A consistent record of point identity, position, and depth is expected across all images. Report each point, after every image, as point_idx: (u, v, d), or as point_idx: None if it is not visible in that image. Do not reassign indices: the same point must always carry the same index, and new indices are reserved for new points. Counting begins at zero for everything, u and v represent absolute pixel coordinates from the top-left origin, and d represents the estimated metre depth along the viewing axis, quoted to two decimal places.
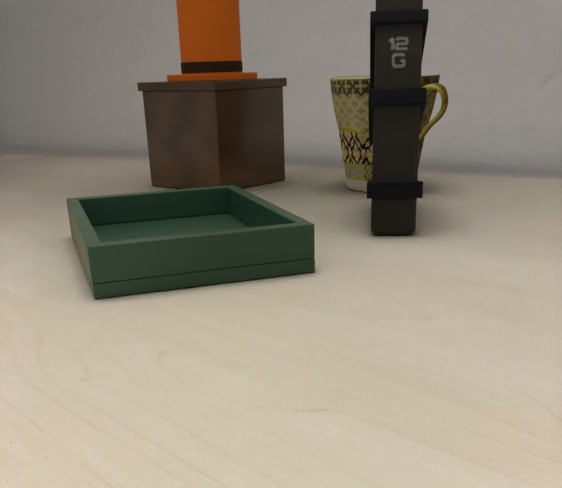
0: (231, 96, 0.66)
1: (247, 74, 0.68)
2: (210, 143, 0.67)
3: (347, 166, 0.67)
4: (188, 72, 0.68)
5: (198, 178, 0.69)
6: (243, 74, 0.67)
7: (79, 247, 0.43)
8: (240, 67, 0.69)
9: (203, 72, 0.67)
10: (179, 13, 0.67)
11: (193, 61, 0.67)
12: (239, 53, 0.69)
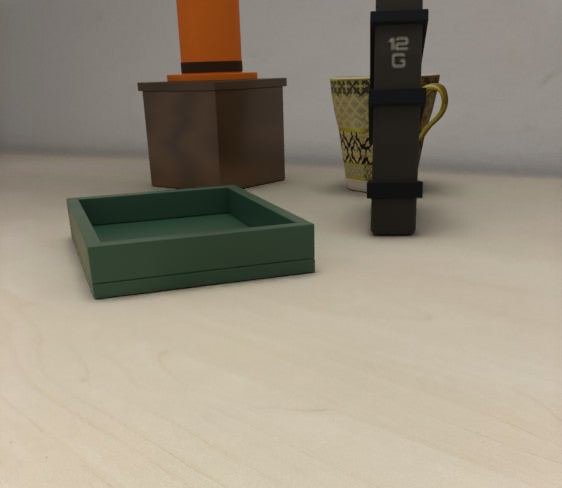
0: (231, 96, 0.66)
1: (247, 74, 0.68)
2: (210, 143, 0.67)
3: (347, 166, 0.67)
4: (188, 72, 0.68)
5: (198, 178, 0.69)
6: (243, 74, 0.67)
7: (79, 247, 0.43)
8: (240, 67, 0.69)
9: (203, 72, 0.67)
10: (179, 13, 0.67)
11: (193, 61, 0.67)
12: (239, 53, 0.69)
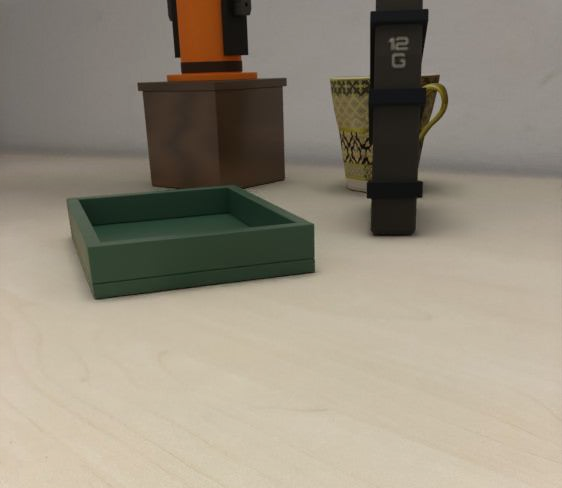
0: (231, 96, 0.66)
1: (247, 74, 0.68)
2: (210, 143, 0.67)
3: (347, 166, 0.67)
4: (188, 72, 0.68)
5: (198, 178, 0.69)
6: (243, 74, 0.67)
7: (79, 247, 0.43)
8: (240, 67, 0.69)
9: (203, 72, 0.67)
10: (179, 13, 0.67)
11: (193, 61, 0.67)
12: None
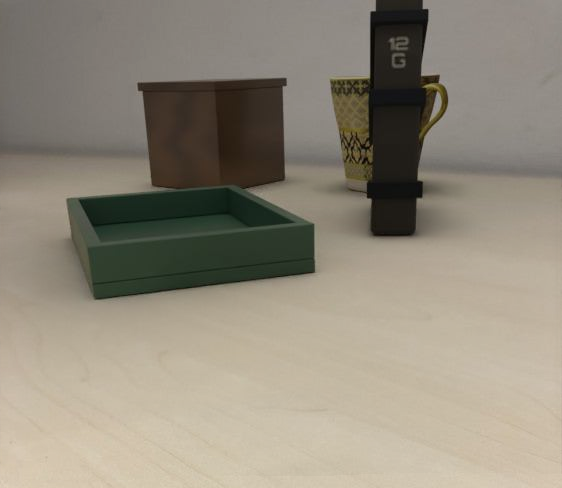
0: (231, 96, 0.66)
1: None
2: (210, 143, 0.67)
3: (347, 166, 0.67)
4: None
5: (198, 178, 0.69)
6: None
7: (79, 247, 0.43)
8: None
9: None
10: None
11: None
12: None
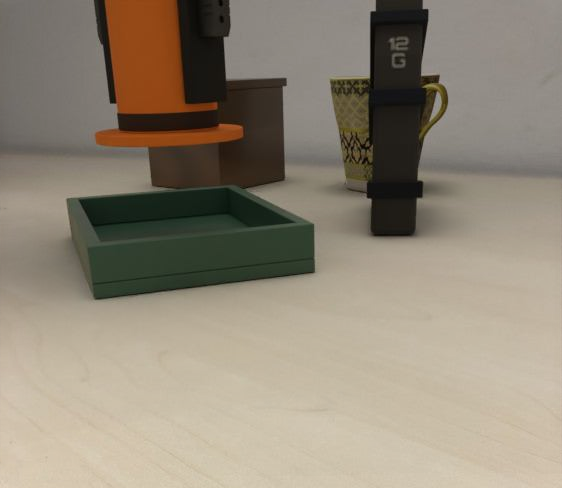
0: (231, 96, 0.66)
1: (225, 133, 0.41)
2: (210, 143, 0.67)
3: (347, 166, 0.67)
4: (128, 130, 0.41)
5: (198, 178, 0.69)
6: (218, 134, 0.40)
7: (79, 247, 0.43)
8: (214, 120, 0.42)
9: (152, 131, 0.40)
10: (110, 33, 0.40)
11: (135, 113, 0.40)
12: None
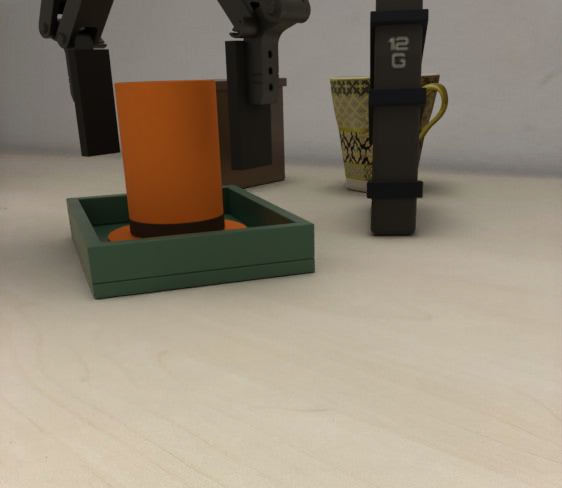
0: None
1: None
2: None
3: (347, 166, 0.67)
4: (139, 236, 0.44)
5: None
6: None
7: (79, 247, 0.43)
8: (221, 225, 0.45)
9: None
10: (123, 149, 0.42)
11: (146, 222, 0.43)
12: (219, 205, 0.44)
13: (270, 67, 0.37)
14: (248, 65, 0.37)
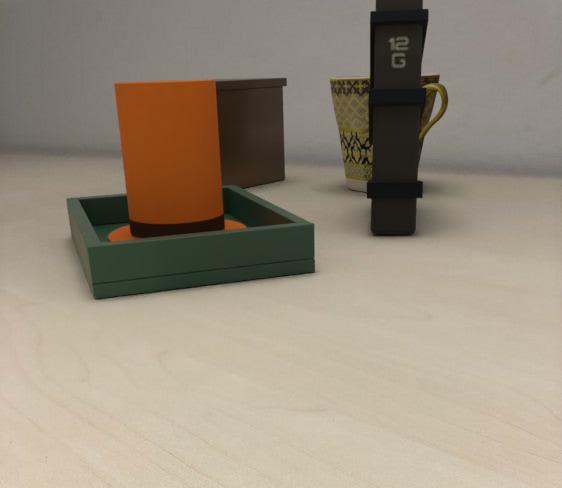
0: (231, 96, 0.66)
1: None
2: None
3: (347, 166, 0.67)
4: (139, 236, 0.44)
5: None
6: None
7: (79, 247, 0.43)
8: (221, 225, 0.45)
9: None
10: (123, 149, 0.42)
11: (146, 222, 0.43)
12: (219, 205, 0.44)
13: None
14: None
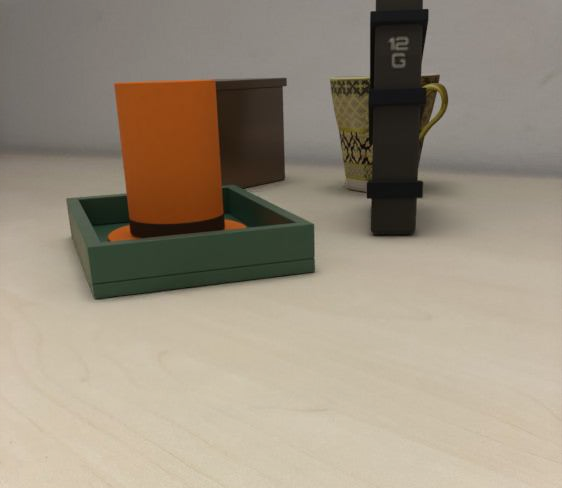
0: (231, 96, 0.66)
1: None
2: None
3: (347, 166, 0.67)
4: (139, 236, 0.44)
5: None
6: None
7: (79, 247, 0.43)
8: (221, 225, 0.45)
9: None
10: (123, 149, 0.42)
11: (146, 222, 0.43)
12: (219, 205, 0.44)
13: None
14: None
